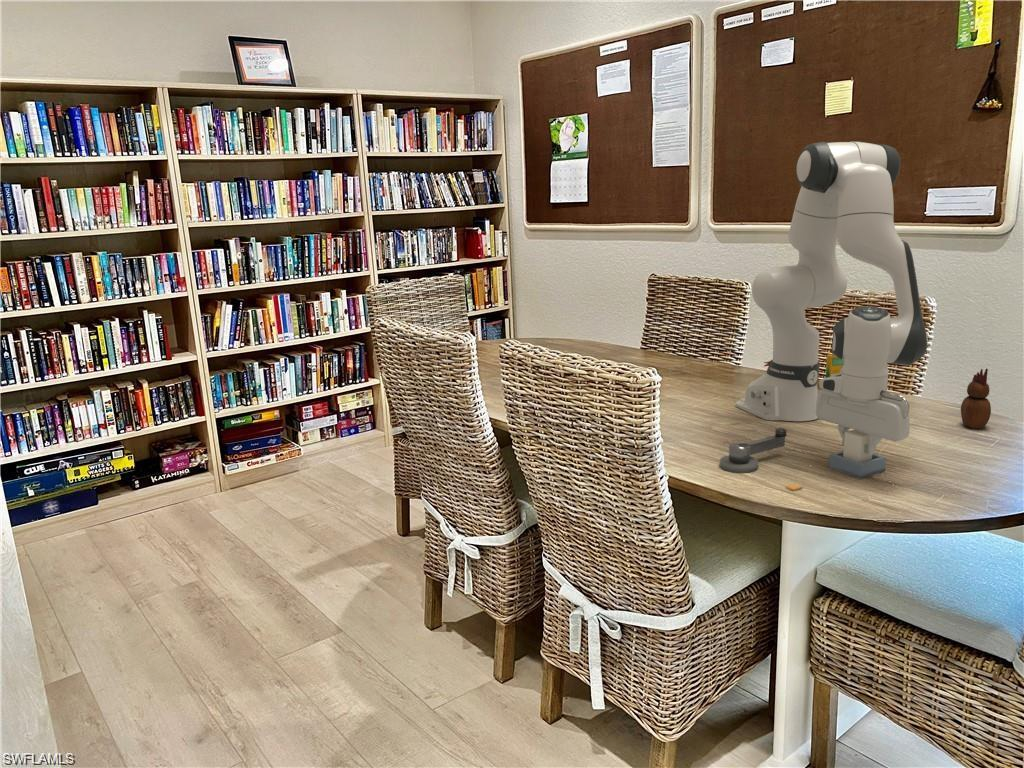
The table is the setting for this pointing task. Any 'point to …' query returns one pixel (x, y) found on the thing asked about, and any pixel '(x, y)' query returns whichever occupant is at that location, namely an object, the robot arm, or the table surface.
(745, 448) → the crank arm
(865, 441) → the cream block
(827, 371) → the crayon box
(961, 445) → the table surface
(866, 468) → the tray
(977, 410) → the wooden figurine
